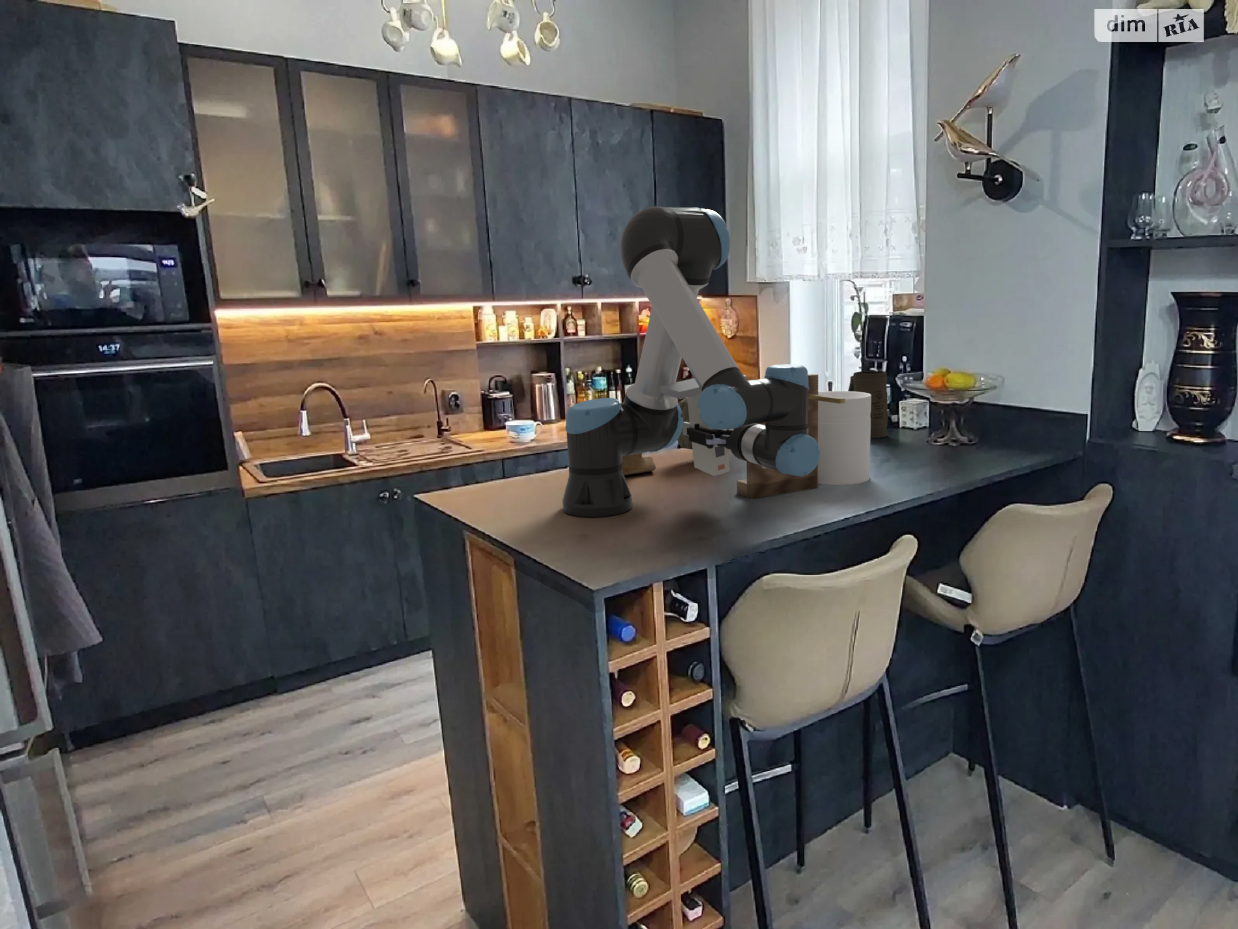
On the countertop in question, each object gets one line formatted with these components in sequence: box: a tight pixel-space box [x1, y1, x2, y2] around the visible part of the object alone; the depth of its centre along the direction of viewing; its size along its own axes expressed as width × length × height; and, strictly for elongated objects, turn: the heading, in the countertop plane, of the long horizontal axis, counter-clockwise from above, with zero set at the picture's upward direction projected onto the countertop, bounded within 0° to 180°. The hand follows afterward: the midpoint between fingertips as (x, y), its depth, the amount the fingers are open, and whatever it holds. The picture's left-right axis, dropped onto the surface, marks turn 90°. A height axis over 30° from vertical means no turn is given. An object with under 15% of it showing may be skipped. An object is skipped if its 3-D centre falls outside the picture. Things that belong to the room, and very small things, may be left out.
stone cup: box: [622, 453, 657, 476], centre depth 206 cm, size 15×12×15 cm
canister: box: [818, 390, 871, 486], centre depth 192 cm, size 16×16×20 cm
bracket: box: [736, 373, 845, 500], centre depth 176 cm, size 18×18×26 cm
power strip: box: [660, 374, 748, 477], centre depth 169 cm, size 16×8×20 cm, turn 115°
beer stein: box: [847, 370, 889, 440], centre depth 247 cm, size 15×11×20 cm
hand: (694, 426), depth 175 cm, fingers closed on power strip, 4 cm apart
